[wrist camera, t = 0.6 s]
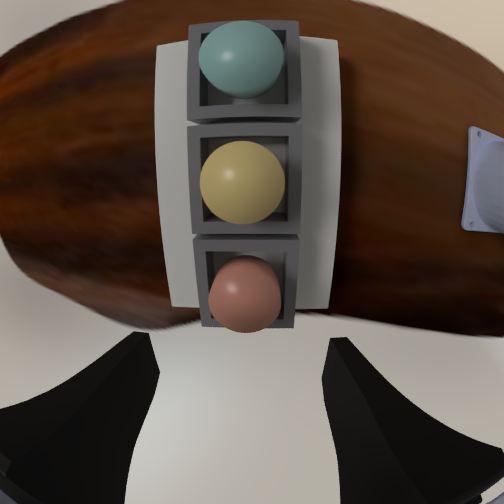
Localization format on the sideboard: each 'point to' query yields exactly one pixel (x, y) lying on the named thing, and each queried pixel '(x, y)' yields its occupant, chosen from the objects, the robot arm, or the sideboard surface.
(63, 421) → the robot arm
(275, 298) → the brick button
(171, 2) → the sideboard surface
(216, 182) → the ochre button
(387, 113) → the sideboard surface
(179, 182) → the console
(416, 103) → the sideboard surface
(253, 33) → the teal button
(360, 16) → the sideboard surface
